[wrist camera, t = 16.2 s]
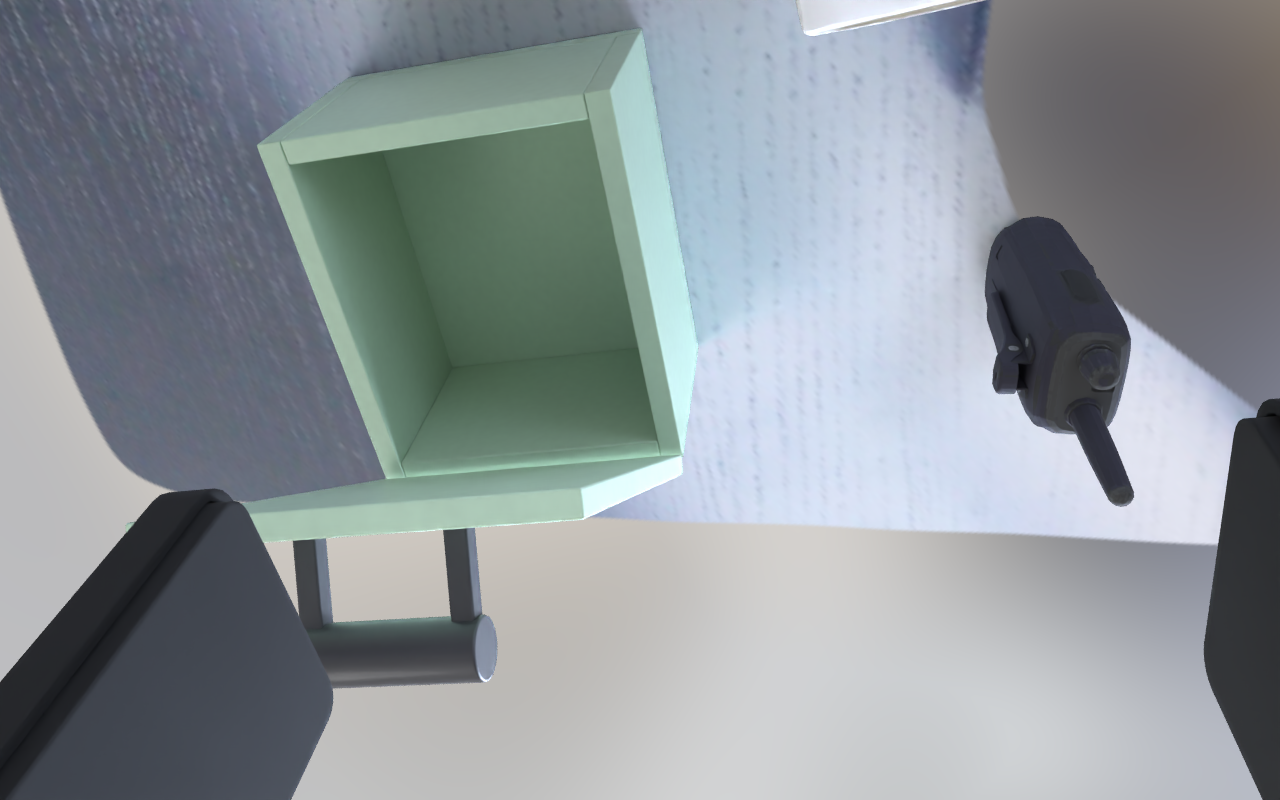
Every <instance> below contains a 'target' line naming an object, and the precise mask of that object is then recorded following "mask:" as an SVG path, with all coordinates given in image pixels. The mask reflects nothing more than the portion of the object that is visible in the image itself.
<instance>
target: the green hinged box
mask: <svg viewBox="0 0 1280 800" xmlns="http://www.w3.org/2000/svg"><path fill="white" fill-rule="evenodd" d="M257 147H258V150H259V152H260V155H261V158H262V160H263V163H264V165H265V168H266V170H267V173H268V176H269V178H270V181H271V183H272V186H273V189H274V191H275V194H276V196H277V199H278V201H279V204H280V207H281V209H282V212H283V214H284V217H285V219H286V222H287V225H288V227H289V230H290V232H291V235H292V237H293V240H294V243H295V245H296V248H297V250H298V253H299V255H300V258H301V261H302V263H303V266H304V268H305V271H306V273H307V276H308V279H309V281H310V284H311V286H312V289H313V291H314V294H315V297H316V299H317V302H318V304H319V307H320V309H321V312H322V315H323V317H324V320H325V322H326V325H327V327H328V330H329V333H330V335H331V338H332V340H333V343H334V345H335V348H336V351H337V353H338V356H339V358H340V361H341V363H342V366H343V369H344V371H345V374H346V376H347V379H348V381H349V384H350V387H351V389H352V392H353V394H354V397H355V399H356V402H357V405H358V407H359V410H360V412H361V415H362V417H363V420H364V423H365V425H366V428H367V430H368V433H369V435H370V438H371V441H372V443H373V446H374V448H375V451H376V453H377V456H378V459H379V461H380V464H381V466H382V469H383V471H384V474H385V477H386V479H393V478H405V477H417V476H429V475H441V474H453V473H465V472H477V471H489V470H501V469H513V468H525V467H537V466H549V465H561V464H573V463H584V462H596V461H608V460H620V459H632V458H644V457H656V456H668V455H681V457H683V454H684V447H685V440H686V433H687V426H688V419H689V412H690V405H691V398H692V391H693V384H694V377H695V370H696V363H697V354H698V343H697V337H696V331H695V326H694V320H693V314H692V309H691V303H690V297H689V292H688V286H687V281H686V275H685V269H684V264H683V258H682V252H681V247H680V241H679V235H678V230H677V224H676V218H675V213H674V207H673V201H672V196H671V190H670V185H669V179H668V173H667V168H666V162H665V156H664V151H663V145H662V139H661V134H660V128H659V122H658V117H657V111H656V105H655V100H654V94H653V88H652V83H651V77H650V72H649V66H648V60H647V55H646V49H645V43H644V38H643V32H642V29H641V28H637V29H632V30H626V31H620V32H614V33H608V34H602V35H596V36H590V37H584V38H578V39H573V40H567V41H561V42H555V43H549V44H543V45H537V46H531V47H525V48H519V49H514V50H508V51H502V52H496V53H490V54H484V55H478V56H472V57H466V58H460V59H455V60H449V61H443V62H437V63H431V64H425V65H419V66H413V67H407V68H401V69H396V70H390V71H384V72H378V73H372V74H366V75H360V76H354V77H349V78H347V79H346V80H344V81H343V82H342V83H340V84H339V85H337V86H336V87H335V88H333V89H332V90H331V91H329V92H328V93H326V94H325V95H324V96H322V97H321V98H320V99H318V100H317V101H316V102H314V103H313V104H312V105H310V106H309V107H308V108H306V109H305V110H304V111H302V112H301V113H299V114H298V115H297V116H295V117H294V118H293V119H291V120H290V121H289V122H287V123H286V124H285V125H283V126H282V127H281V128H279V129H278V130H276V131H275V132H274V133H272V134H271V135H270V136H268V137H267V138H266V139H264V140H263V141H262V142H260V143H259V144H258V145H257Z"/></svg>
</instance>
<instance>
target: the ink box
mask: <svg viewBox="0 0 1280 800" xmlns="http://www.w3.org/2000/svg"><path fill="white" fill-rule="evenodd" d="M980 1H984V0H796V5H797V10H798V14H799V18H800V23H801V27H802V30H803V32H804V33H805V34H806V35H809V36H817V35H821V34H826V33H832V32H837V31H844V30H850V29H855V28H860V27H865V26H871V25H876V24H880V23H885V22H889V21H894V20H899V19H904V18H909V17H913V16H918V15H922V14H927V13H931V12H936V11H940V10H945V9H950V8H954V7H958V6H963V5H967V4H971V3H976V2H980Z"/></svg>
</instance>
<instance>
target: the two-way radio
mask: <svg viewBox="0 0 1280 800" xmlns="http://www.w3.org/2000/svg"><path fill="white" fill-rule="evenodd" d="M985 297H986V302H987V307H988V308H987V321H988V324H989V327H990V330H991V333H992V336H993V339H994V342H995V346H996V349H997V353H998V355H997V356H996V361H995V365H994V369H993V382H992V384H993V387H994V389H995V391H996V393H998V394H1014V393H1015V392H1016V390H1017V393H1018V395H1019V398H1020V400H1021V403H1022V405H1023V408H1024V410H1025V412H1026V414H1027V415H1028V417H1029V418H1030V419H1031V421H1032V422H1033V423H1034V424H1035V425H1037V426H1039V427H1043V428H1045V429H1047V430H1049V431H1051V432H1053V433H1061V434H1076V435H1077V437H1078V439H1079V441H1080V444H1081V446H1082V448H1083V450H1084V452H1085V454H1086V456H1087V458H1088V461H1089V463H1090V465H1091V466H1092V468H1093V470H1094V472H1095V474H1096V476H1097V478H1098V480H1099V482H1100V484H1101V486H1102V488H1103V490H1104V492H1105V494H1106V495H1107V497H1108V499H1109V501H1110V502H1111V503H1112V504H1114V505H1116V506H1120V507H1122V506H1127V505H1128V504H1130V503H1131V501H1132V500H1133V498H1134V491H1133V489H1132V486H1131V484H1130V481H1129V479H1128V476H1127V474H1126V471H1125V469H1124V466H1123V464H1122V461H1121V459H1120V456H1119V454H1118V451H1117V449H1116V447H1115V444H1114V442H1113V440H1112V438H1111V435H1110V433H1109V431H1108V429H1107V427H1108V426H1109V425H1110V423H1111V422H1112V420H1113V418H1114V416H1115V414H1116V411H1117V408H1118V405H1119V401H1120V398H1121V394H1122V390H1123V386H1124V382H1125V377H1126V373H1127V368H1128V363H1129V356H1130V349H1131V338H1130V335H1129V331H1128V328H1127V325H1126V323H1125V321H1124V319H1123V317H1122V315H1121V313H1120V312H1119V310H1118V308H1117V307H1116V305H1115V304H1114V302H1113V300H1112V299H1111V297H1110V295H1109V294H1108V293H1107V291H1106V290H1105V287H1104V286H1103V284H1102V283H1101V281H1100V280H1099V279H1097V278H1096V274H1095V272H1094V268H1093V266H1092V265H1090V264H1089V262H1088V260H1087V259H1086V258H1085V257H1084V255H1083V254H1082V253H1081V252H1080V251H1079V249H1078V247H1077V245H1076V244H1075V242H1074V241H1073V239H1072V238H1071V236H1070V235H1069V234H1068V233H1067V231H1066V230H1065V229H1064V227H1063V226H1062V225H1061V224H1060V223H1058V222H1057V221H1055V220H1053V219H1049V218H1044V217H1038V216H1037V217H1030V218H1023V219H1021V220H1019V221H1018V222H1016V223H1014V224H1013V225H1011V226H1009V227H1006V228H1004V229H1003V230H1002V231H1001V232H1000V234H999V235H998V236H997V237H996V239H995V241H994V243H993V245H992V247H991V251H990V255H989V260H988V266H987V272H986V282H985Z"/></svg>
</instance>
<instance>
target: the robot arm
mask: <svg viewBox="0 0 1280 800" xmlns="http://www.w3.org/2000/svg"><path fill="white" fill-rule="evenodd" d="M1204 661H1205V667H1206V672H1207V676H1208V680H1209V683H1210V685H1211V688H1212V691H1213V693H1214V695H1215V697H1216V699H1217V701H1218V704H1219V706H1220V708H1221V710H1222V712H1223V714H1224V717H1225V719H1226V721H1227V723H1228V725H1229V727H1230V730H1231V732H1232V734H1233V736H1234V738H1235V740H1236V743H1237V745H1238V747H1239V749H1240V751H1241V753H1242V756H1243V758H1244V760H1245V762H1246V764H1247V767H1248V769H1249V771H1250V773H1251V775H1252V777H1253V780H1254V782H1255V784H1256V786H1257V788H1258V791H1259V793H1260V795H1261V797H1262V799H1263V800H1280V399H1269V400H1267V401H1265V402H1263V403H1262V405H1261V407H1260V408H1259V410H1258V413H1257V417H1256V418H1246V419H1242V420H1240V421H1239V422H1238V424H1237V426H1236V428H1235V432H1234V438H1233V445H1232V452H1231V459H1230V466H1229V473H1228V480H1227V487H1226V494H1225V501H1224V508H1223V515H1222V522H1221V529H1220V536H1219V543H1218V550H1217V557H1216V564H1215V571H1214V578H1213V585H1212V592H1211V599H1210V606H1209V613H1208V620H1207V627H1206V634H1205V641H1204ZM332 705H333V691H332V685H331V682H330V679H329V677H328V675H327V673H326V671H325V669H324V667H323V665H322V663H321V661H320V659H319V657H318V654H317V652H316V650H315V648H314V646H313V644H312V642H311V640H310V638H309V636H308V634H307V632H306V630H305V628H304V626H303V624H302V622H301V619H300V617H299V616H298V613H297V612H296V609H295V607H294V605H293V603H292V601H291V599H290V597H289V595H288V593H287V591H286V589H285V587H284V585H283V583H282V580H281V579H280V576H279V574H278V572H277V570H276V568H275V566H274V564H273V562H272V560H271V558H270V556H269V554H268V552H267V550H266V548H265V546H264V543H263V541H262V539H261V537H260V535H259V533H258V531H257V529H256V527H255V525H254V523H253V521H252V519H251V517H250V515H249V513H248V511H247V510H246V508H245V507H244V506H243V505H242V504H241V503H239V502H235V501H233V500H232V499H231V497H230V496H229V495H228V494H227V493H225V492H224V491H223V490H219V489H204V490H192V491H181V492H169V493H166V494H162V495H160V496H159V497H158V498H156V499H155V500H154V501H153V502H152V503H151V504H150V505H149V506H148V508H147V509H146V510H145V511H144V512H143V514H142V515H141V516H140V517H139V518H138V520H137V521H136V522H135V523H134V524H133V525H132V527H131V528H130V529H129V530H128V531H127V533H126V534H125V535H124V536H123V538H121V540H120V541H119V542H118V543H117V544H116V546H115V547H114V548H113V549H112V550H111V551H110V553H109V554H108V555H107V556H106V557H105V559H104V560H103V561H102V562H101V563H100V564H99V566H98V567H97V568H96V569H95V571H94V572H93V573H92V574H91V575H90V576H89V578H88V579H87V580H86V581H85V582H84V583H83V585H82V586H81V587H80V588H79V589H78V591H77V592H76V593H75V594H74V595H73V597H72V598H71V599H70V600H69V601H68V603H67V604H66V605H65V606H64V607H63V608H62V609H61V611H60V612H59V613H58V614H57V615H56V617H55V618H54V619H53V620H52V621H51V623H50V624H49V625H48V626H47V627H46V628H45V630H44V631H43V632H42V633H41V634H40V636H39V637H38V638H37V639H36V640H35V642H34V643H33V644H32V645H31V646H30V647H29V649H28V650H27V651H26V652H25V653H24V654H23V656H22V657H21V658H20V659H19V660H18V662H17V663H16V664H15V665H14V666H13V668H12V669H11V670H10V671H9V672H8V673H7V675H6V676H5V677H4V678H3V679H2V681H1V682H0V800H291V799H292V796H293V794H294V792H295V790H296V788H297V786H298V784H299V781H300V779H301V777H302V775H303V773H304V771H305V769H306V767H307V765H308V762H309V760H310V758H311V756H312V754H313V752H314V750H315V748H316V745H317V743H318V741H319V739H320V737H321V735H322V733H323V731H324V728H325V726H326V724H327V722H328V720H329V717H330V714H331V711H332Z"/></svg>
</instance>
